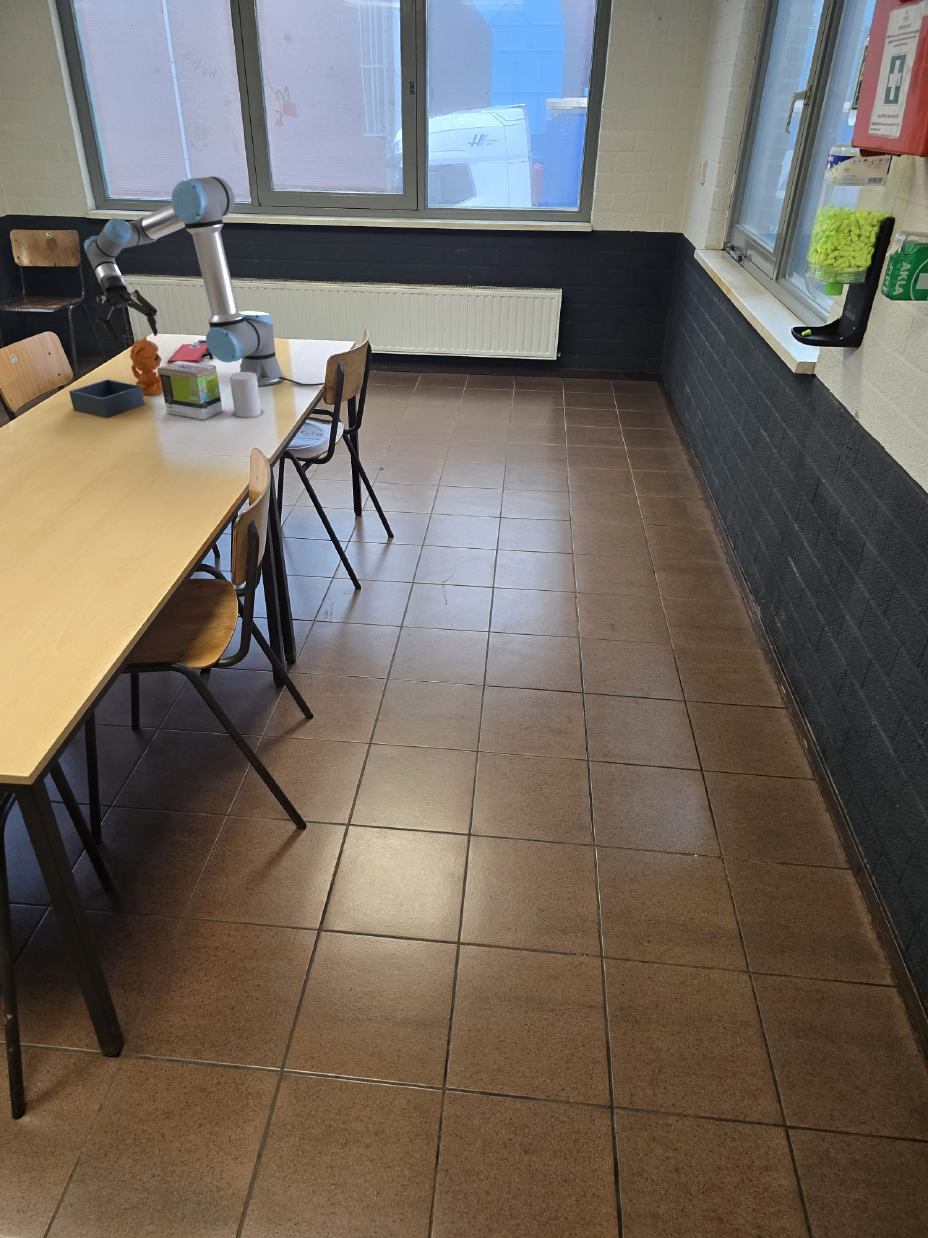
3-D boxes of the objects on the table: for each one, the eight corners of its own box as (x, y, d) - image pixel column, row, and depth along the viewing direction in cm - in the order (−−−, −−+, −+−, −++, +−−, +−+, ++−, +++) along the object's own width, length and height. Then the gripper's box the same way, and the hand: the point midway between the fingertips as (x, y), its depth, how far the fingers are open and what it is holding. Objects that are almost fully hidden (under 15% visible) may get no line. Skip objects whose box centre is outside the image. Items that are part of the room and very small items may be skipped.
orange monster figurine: (176, 389, 287) (166, 335, 277) (156, 398, 278) (146, 343, 269) (148, 386, 290) (138, 332, 280) (128, 395, 281) (117, 340, 272)
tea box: (224, 411, 268) (217, 364, 260) (203, 420, 261) (195, 373, 253) (186, 404, 274) (179, 358, 266) (165, 413, 266) (156, 366, 258)
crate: (144, 404, 273) (141, 386, 270) (107, 417, 262) (102, 398, 259) (111, 396, 280) (107, 378, 276) (73, 409, 268) (68, 391, 265)
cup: (264, 409, 270) (259, 372, 264) (256, 417, 263) (251, 379, 257) (239, 408, 271) (234, 371, 264) (231, 416, 264) (225, 378, 257)
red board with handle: (224, 341, 339) (187, 342, 339) (223, 334, 338) (186, 335, 337) (208, 363, 314) (168, 364, 314) (207, 355, 313) (166, 356, 312)
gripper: (146, 284, 291) (170, 337, 289) (72, 292, 278) (97, 348, 276) (149, 270, 284) (174, 324, 282) (73, 278, 271) (98, 335, 270)
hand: (136, 336), depth 279 cm, fingers open, 13 cm apart
